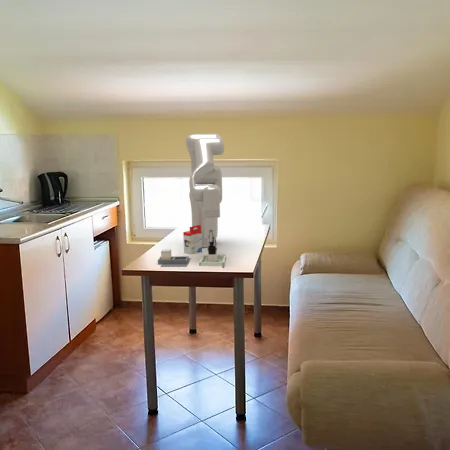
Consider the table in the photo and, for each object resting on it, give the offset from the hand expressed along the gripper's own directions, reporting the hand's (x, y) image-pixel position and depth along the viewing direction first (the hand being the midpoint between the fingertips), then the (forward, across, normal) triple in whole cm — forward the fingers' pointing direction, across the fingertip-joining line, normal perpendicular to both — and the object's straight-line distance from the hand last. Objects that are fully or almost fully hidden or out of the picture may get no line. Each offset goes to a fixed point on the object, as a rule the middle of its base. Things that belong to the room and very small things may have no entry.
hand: (212, 252), depth 227 cm
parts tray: (+5, 0, 0) cm, 5 cm away
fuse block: (+5, +1, -17) cm, 18 cm away
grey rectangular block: (+4, 0, 0) cm, 4 cm away
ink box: (+6, -20, -12) cm, 24 cm away
